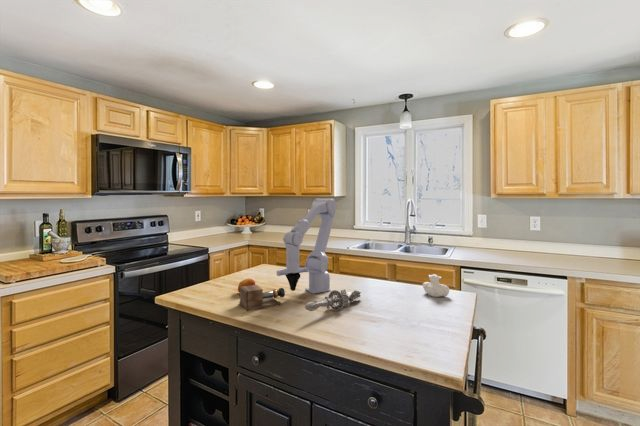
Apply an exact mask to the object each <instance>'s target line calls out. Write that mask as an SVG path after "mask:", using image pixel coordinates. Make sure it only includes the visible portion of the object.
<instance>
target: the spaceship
mask: <svg viewBox="0 0 640 426" xmlns="http://www.w3.org/2000/svg"><path fill="white" fill-rule="evenodd" d="M329 292H330V293H329V294H328V296H327V295H325V296H324V299H321V301H316V300H313V301H310V302H307V303H306V304H305V305H304V309H305V310H306V311H308V312H309V311H314V310H318V309H319V308H320V307H323V308H326V309H327V310H329V309H332V310H334V311H341V310H342V309H343V307H344V308H346V307H350V304H349V303H352V302H353V301H357V302H358V301H359V300H360V299H361V297H362V295H361V294H362V292H361V291H358V290H354V291H352V292H351V291H350V292H349V291H348V292H346V289H341V290H340V291H339V290H336V289H335V290H332V291H331V290H330V291H329Z"/></svg>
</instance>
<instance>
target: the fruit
mask: <svg viewBox="0 0 640 426" xmlns="http://www.w3.org/2000/svg"><path fill="white" fill-rule="evenodd" d="M250 285H256V281H255V280H254V279H253V278H250V277H249V278H245V279H242V280H240V281H239V284H238V287H237V290H238V293H240V287H243V286H250Z"/></svg>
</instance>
